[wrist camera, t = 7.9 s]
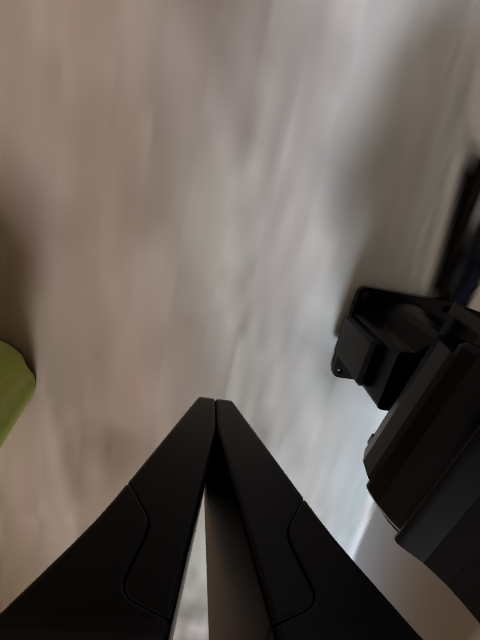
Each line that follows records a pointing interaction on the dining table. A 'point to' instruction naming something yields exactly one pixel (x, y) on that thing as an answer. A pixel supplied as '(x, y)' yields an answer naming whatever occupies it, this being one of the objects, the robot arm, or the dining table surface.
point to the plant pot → (13, 388)
